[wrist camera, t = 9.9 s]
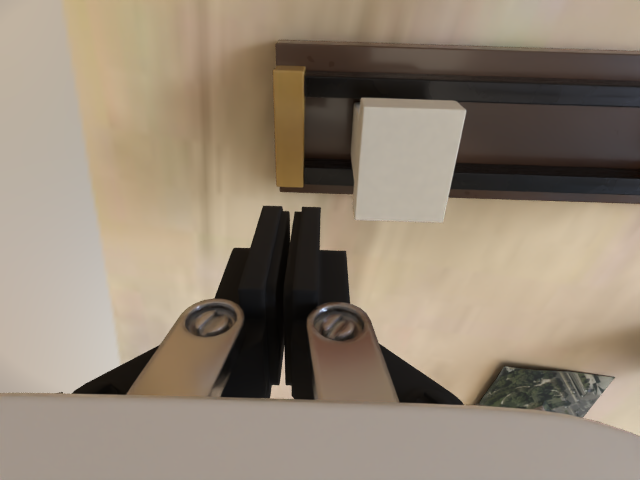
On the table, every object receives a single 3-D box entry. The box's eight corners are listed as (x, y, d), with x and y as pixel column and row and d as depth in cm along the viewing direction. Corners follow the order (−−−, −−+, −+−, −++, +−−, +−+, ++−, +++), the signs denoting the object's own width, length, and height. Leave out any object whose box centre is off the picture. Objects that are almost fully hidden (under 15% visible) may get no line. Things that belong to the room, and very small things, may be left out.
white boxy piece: (355, 79, 20) (362, 106, 16) (435, 81, 20) (467, 110, 16) (349, 172, 23) (354, 220, 18) (419, 174, 23) (443, 223, 18)
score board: (278, 39, 21) (275, 43, 20) (858, 58, 21) (892, 62, 20) (282, 182, 25) (279, 192, 24) (766, 198, 25) (789, 209, 24)
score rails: (275, 64, 20) (272, 70, 19) (877, 84, 20) (914, 90, 19) (278, 176, 24) (276, 187, 22) (800, 193, 24) (827, 205, 22)
